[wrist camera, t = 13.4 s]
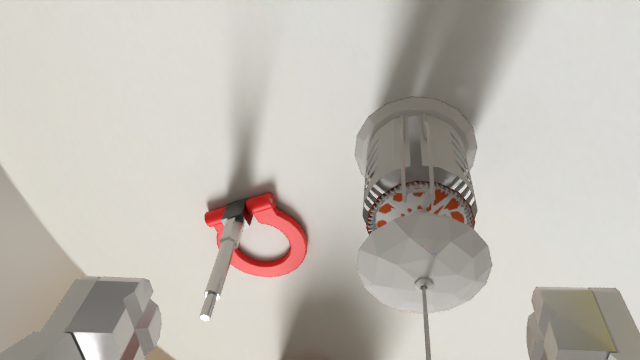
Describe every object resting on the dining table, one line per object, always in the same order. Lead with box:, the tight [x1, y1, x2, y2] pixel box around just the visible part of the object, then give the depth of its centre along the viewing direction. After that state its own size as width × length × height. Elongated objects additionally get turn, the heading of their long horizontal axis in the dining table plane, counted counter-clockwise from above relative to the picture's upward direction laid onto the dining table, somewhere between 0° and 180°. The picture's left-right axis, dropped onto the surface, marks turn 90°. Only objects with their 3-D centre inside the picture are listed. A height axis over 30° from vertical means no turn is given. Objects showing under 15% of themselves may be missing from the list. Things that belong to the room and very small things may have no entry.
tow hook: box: [200, 193, 307, 321], centre depth 47 cm, size 8×13×9 cm
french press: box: [355, 97, 492, 360], centre depth 35 cm, size 10×12×25 cm
